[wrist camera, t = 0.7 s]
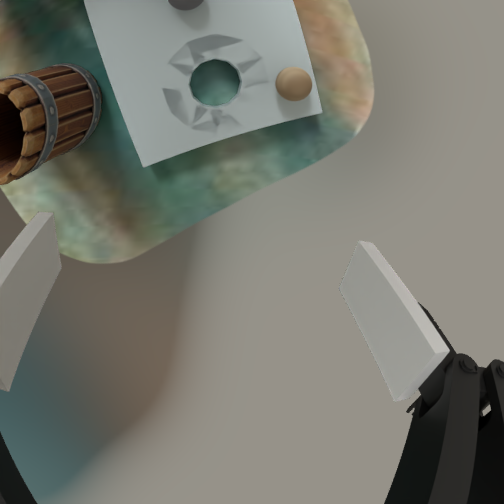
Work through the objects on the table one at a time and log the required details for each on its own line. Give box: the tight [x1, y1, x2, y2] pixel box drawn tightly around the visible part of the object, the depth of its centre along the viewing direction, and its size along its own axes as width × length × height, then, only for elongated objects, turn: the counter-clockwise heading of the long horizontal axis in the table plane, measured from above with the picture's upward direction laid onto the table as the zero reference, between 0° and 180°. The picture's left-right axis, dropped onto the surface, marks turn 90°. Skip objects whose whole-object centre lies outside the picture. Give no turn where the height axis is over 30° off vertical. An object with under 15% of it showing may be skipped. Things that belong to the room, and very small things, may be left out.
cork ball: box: [275, 67, 312, 101], centre depth 27 cm, size 4×4×4 cm
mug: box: [0, 63, 102, 185], centre depth 21 cm, size 16×11×15 cm
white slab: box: [84, 0, 322, 168], centre depth 26 cm, size 24×20×2 cm
